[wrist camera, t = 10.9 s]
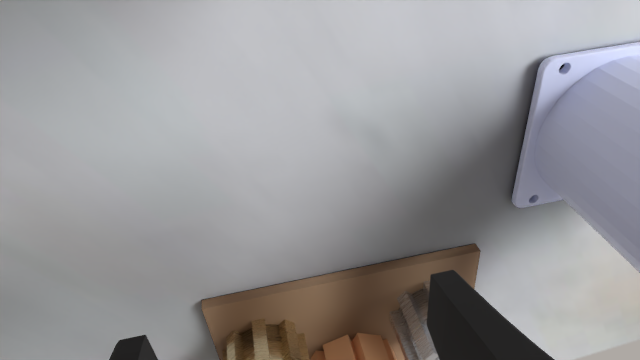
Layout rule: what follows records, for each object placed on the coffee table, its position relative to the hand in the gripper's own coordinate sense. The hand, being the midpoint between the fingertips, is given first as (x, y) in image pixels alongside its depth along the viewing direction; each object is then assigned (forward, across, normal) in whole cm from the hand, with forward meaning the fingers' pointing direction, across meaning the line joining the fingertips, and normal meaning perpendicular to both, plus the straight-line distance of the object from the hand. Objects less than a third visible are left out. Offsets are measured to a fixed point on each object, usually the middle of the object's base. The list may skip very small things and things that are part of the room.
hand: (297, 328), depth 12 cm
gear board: (+9, -3, +14) cm, 17 cm away
